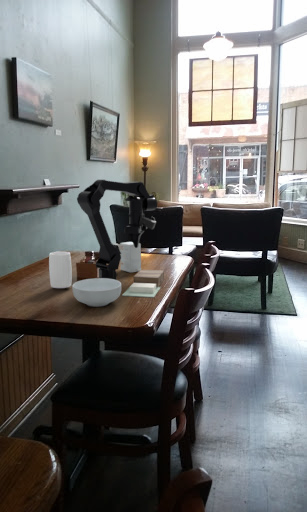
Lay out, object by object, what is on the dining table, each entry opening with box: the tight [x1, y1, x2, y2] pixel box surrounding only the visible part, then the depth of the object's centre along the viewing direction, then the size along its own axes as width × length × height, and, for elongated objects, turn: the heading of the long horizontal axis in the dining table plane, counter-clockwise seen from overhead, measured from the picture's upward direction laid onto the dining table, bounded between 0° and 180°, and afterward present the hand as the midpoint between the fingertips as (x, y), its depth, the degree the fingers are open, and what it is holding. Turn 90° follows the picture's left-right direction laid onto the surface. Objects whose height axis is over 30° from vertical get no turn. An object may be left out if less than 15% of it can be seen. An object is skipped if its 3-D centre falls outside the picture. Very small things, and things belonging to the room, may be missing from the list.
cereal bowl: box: [71, 277, 122, 308], centre depth 147 cm, size 17×17×7 cm
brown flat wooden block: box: [133, 269, 165, 287], centre depth 175 cm, size 14×10×4 cm
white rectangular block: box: [129, 282, 156, 293], centre depth 163 cm, size 6×9×2 cm, turn 80°
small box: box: [119, 241, 142, 273], centre depth 198 cm, size 8×6×13 cm
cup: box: [48, 250, 73, 289], centre depth 166 cm, size 8×8×14 cm
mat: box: [121, 286, 162, 298], centre depth 162 cm, size 14×12×1 cm
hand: (136, 247), depth 184 cm, fingers closed
